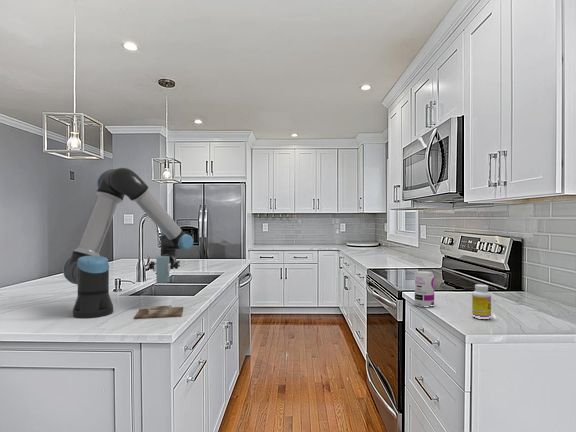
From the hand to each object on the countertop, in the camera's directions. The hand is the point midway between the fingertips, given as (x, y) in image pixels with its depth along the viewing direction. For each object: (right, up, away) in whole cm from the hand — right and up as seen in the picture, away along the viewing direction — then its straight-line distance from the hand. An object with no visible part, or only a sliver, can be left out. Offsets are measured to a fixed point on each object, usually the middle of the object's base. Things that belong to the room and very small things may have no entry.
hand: (161, 268), depth 175 cm
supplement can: (+115, -18, +5) cm, 117 cm away
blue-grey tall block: (-1, -7, +5) cm, 8 cm away
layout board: (+2, -18, -8) cm, 19 cm away
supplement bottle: (+130, -18, -16) cm, 132 cm away
